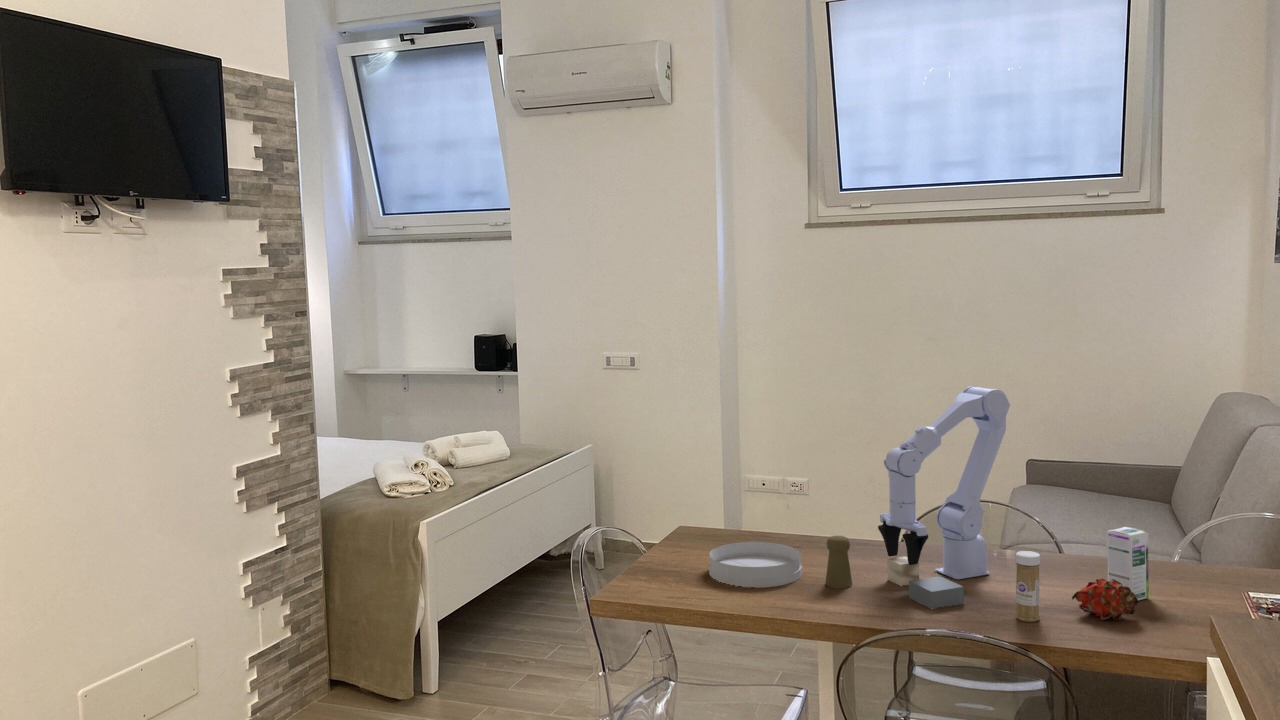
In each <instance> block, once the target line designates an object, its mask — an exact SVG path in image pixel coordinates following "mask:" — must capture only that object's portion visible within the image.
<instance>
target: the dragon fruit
mask: <svg viewBox="0 0 1280 720" xmlns="http://www.w3.org/2000/svg"><path fill="white" fill-rule="evenodd" d="M1111 580H1113V581H1109V582H1108V580H1106V579H1104V578H1095V581H1089V582H1088V583H1087V585H1086V586H1085V587H1082V588H1081V589H1080V590H1078V591H1076V592H1074V593H1073V595H1072V596H1071V598H1072V601H1073V600H1076V602H1079V603H1080V604H1078V609H1080V610H1081V611H1083V612H1084V613H1087V614H1092V615H1093V616H1094V617H1100V619H1101V620H1102V621H1105V620H1109V619H1113V620H1115V621H1118V620H1119V621H1120V620H1122V616H1123V615H1124V616H1129V615H1131V616H1132V615H1134V614H1135V612H1136V611H1137V610H1136V609H1135V607H1136V606H1138V603H1139V600H1138V599H1137V598H1136V595H1135V594H1134V593H1133V592H1131V590H1130V588H1129V587H1127V586H1123V585H1122V584H1121V583H1120V582H1118V581H1117V580H1115V579H1111ZM1110 617H1111V618H1110Z"/></svg>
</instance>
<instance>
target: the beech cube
mask: <svg viewBox="0 0 1280 720" xmlns="http://www.w3.org/2000/svg"><path fill="white" fill-rule="evenodd" d="M886 561H887V565H886V566H887V581H889V582H891V583H893V584H895V583H896V584H895V585H897V584H898V586H900V587H904V586H903V585H905V586H908V585H907V584H909V581H912V580H919V579H920V561H918V564H915V565H909V563H908V558H907V555H906V556H905V555H904V556H899V557H893V558H891V557H890V558H887V560H886Z"/></svg>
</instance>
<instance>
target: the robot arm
mask: <svg viewBox="0 0 1280 720" xmlns="http://www.w3.org/2000/svg"><path fill="white" fill-rule="evenodd" d="M956 395H957V394H956ZM1010 407H1011V404H1010V401H1009V399H1008V398H1007V395H1006V393H1005V392H1004V391H1002V390H1001V389H998V388H993V389H992V388H985V387H979V386H976V385H970V386H967V387H965V388H964V389H963V391H962V392H960V393H958V395H957V396H956V398H955V401H954V402H953V403H952V404H951V405H950V406H948V408H947V409H946V410H945V411H944V412H943V413H942V414H941V415H940V416H939V417H938V418H937V419H936V420H935V421H934V422H933V423H932V424H931V425H930V426H926V425H925V426H924V425H923V426H921V427H917V428H916V429H915V430H914V433H913V434H912V435H911V436H910V437H909V438H907V440H905V441H902V442H901V443H900V446H899V447H894V448H892V449H891V450H888V451H889V452H887V453H886V457H885V459H883V465H884V467H885V469H886V470H887V472H888V478H889V480H888V481H889V483H888V485H889V513H887V512H886V513H880V514H879V522H880V523H882V524H880V525H878V526H877V529H878V531H879V533H880V534H881V537H882V539H883V542H884V546H885V548H886V552H887V556H888V557H896V556H898V553H899V545H900V544H899V543H900V535H901V531H902V530H905V531H908V532H909V533H903V534H902V538H903V540H904V543H905V547H906V557H907V558H908V563H909V565H915V564H918V562H920V556H921V553H922V552H923V551H922V550H923V547H924V545H925V544H926V542H927V541H928V539H929V534H927V533H928V532H927V530H928V529H927V526H925V525H923V524H922V523H921V522H919V520H917V519H916V516H917V515H916V511H917V510H916V509H917V508H916V474H918V473H919V472H920V470H921V469H922V464H923V462H924V461H925V460H926V459H927V458H928V457H929V456H930V455H932V453H933V452H935V451H936V450H937V449H938V448H939V447H940V446H941V444H942V438H943V437H944V436H945V435H946V434H948V432H950V431H952V430H953V429H954V428H956V427H957V426H958V425H959V424H960V423H962V422H963V421H964V420H966V419H967V418H971V419H972V420H973V421H974V422H975V424H976V426H977V428H978V433H977V434H976V437H975V439H974V442H973V445H972V448H971V450H970V453H969V456H968V459H967V462H966V465H965V467H964V469H963V472H962V474H961V477H960V479H959V483H958V486H957V488H956V491H954V492H952V494H950V495H949V496H947V497H946V498H945V501H944V503H943V505H941V506H940V507H939V509H938V510H937V513H936V515H935V516H936V518H935V519H936V523H937V526H938V527H939V528H940V529H941V534H942V544H943V545H942V561H943V562H942V564H943V566H942V567H939V568H938V567H937V568H935V569H934V571H935V572H937V573H939V574H941V575H945V576H947V577H949V578H952V579H954V580H963V579H968V578H969V579H971V578H974V577H975V578H976V577H980V576H986V575H990V572H989V571H988V555H987V554H988V548H987V542H986V541H985V538H984V537H983V536H982V535H981V534H980V533H981V531H982V528H983V516H984V513H985V510H984V507H983V506H982V505H983V504H982V503H981V501H980V500H981V497H982V494H983V491H984V490H985V487H986V484H987V481H988V479H989V476H990V474H991V470H992V468H993V465H994V463H995V461H996V457H997V455H998V451H999V450H1000V446H1001V444H1002V441H1003V439H1004V437H1005V433H1006V430H1007V415H1008V412H1009V409H1010Z"/></svg>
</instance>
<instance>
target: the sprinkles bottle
mask: <svg viewBox="0 0 1280 720" xmlns="http://www.w3.org/2000/svg"><path fill="white" fill-rule="evenodd" d="M1015 563H1016V581H1015V582H1016V585H1015V603H1016V605H1015V606H1016V609H1015V610H1016V611H1015V618H1016V619H1017V620H1019V621H1022V622H1025V623H1027V622H1028V623H1035V622H1038V621H1040V618H1041V617H1040V579H1041V578H1040V566H1041V555H1040V554H1039V553H1038V552H1035V551H1029V550H1020V551H1017V552H1016V553H1015Z"/></svg>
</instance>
